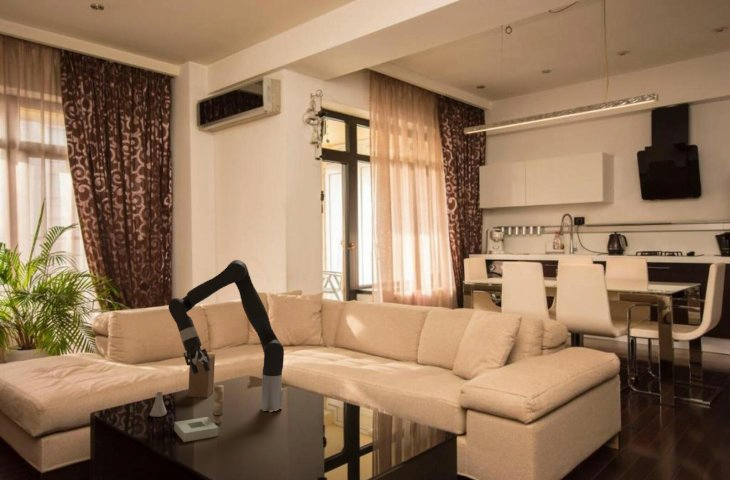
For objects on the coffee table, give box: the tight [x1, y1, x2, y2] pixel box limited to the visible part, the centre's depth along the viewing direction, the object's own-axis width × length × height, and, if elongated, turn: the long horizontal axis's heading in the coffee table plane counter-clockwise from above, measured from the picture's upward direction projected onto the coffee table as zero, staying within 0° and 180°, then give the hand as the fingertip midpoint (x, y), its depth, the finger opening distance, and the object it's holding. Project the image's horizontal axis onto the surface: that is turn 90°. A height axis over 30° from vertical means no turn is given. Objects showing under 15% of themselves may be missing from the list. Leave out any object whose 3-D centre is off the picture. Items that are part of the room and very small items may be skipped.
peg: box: [212, 384, 225, 425], centre depth 241 cm, size 4×4×16 cm
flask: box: [149, 391, 168, 418], centre depth 247 cm, size 7×7×10 cm
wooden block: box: [187, 353, 216, 399], centre depth 278 cm, size 10×10×20 cm
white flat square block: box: [173, 416, 220, 443], centre depth 227 cm, size 14×14×4 cm
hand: (202, 372), depth 246 cm, fingers open, 8 cm apart
